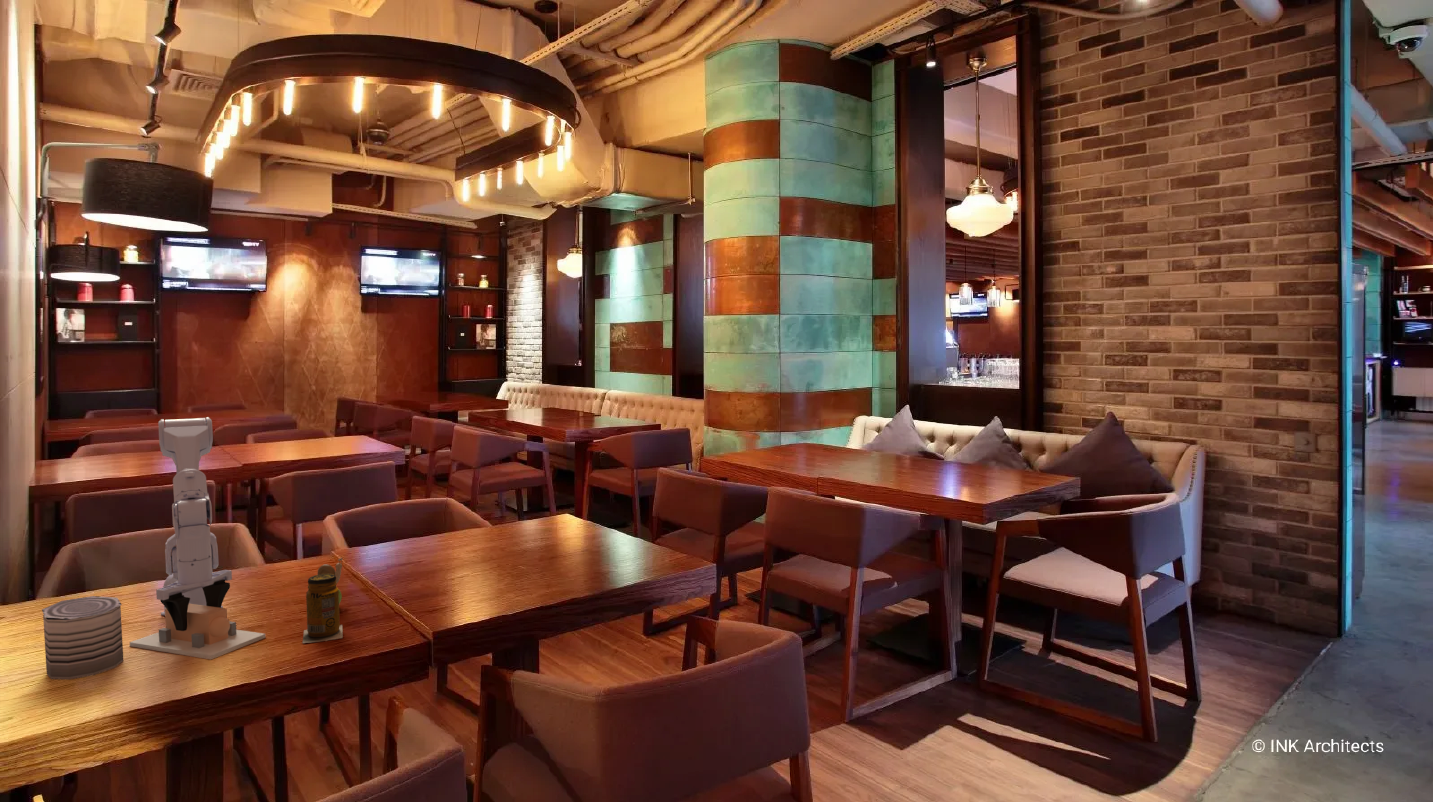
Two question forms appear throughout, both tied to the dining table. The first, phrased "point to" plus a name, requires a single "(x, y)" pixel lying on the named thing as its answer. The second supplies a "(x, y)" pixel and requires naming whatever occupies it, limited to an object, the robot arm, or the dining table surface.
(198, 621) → the block
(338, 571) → the snail figurine
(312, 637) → the condiment
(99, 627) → the can
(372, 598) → the dining table surface
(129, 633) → the dining table surface
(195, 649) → the cradle jig
